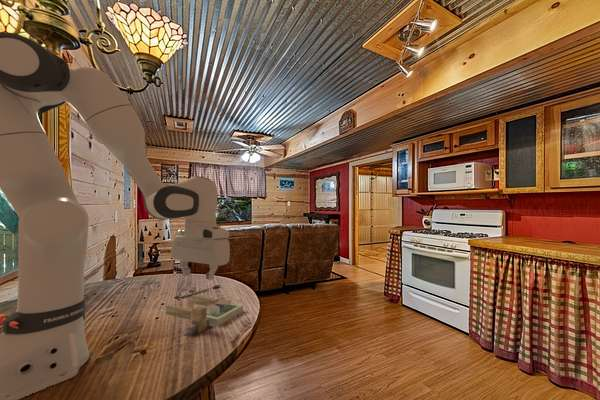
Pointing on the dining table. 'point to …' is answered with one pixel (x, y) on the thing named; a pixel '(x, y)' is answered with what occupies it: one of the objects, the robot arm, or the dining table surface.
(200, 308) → the wooden block with peg
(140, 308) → the dining table surface
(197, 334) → the pad
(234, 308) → the open picture frame
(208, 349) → the dining table surface
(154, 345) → the dining table surface
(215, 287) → the claw hammer
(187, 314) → the slot rails
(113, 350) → the dining table surface
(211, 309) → the tan cube
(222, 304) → the beige cube
